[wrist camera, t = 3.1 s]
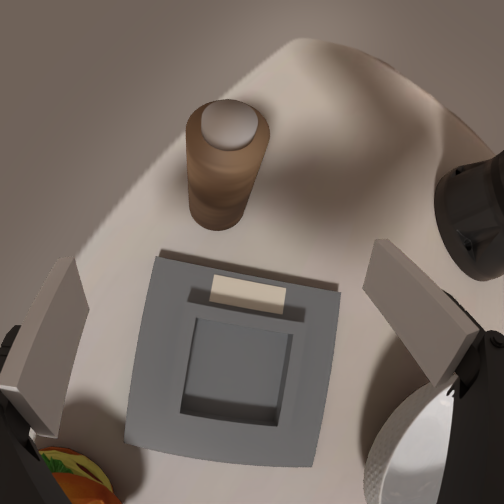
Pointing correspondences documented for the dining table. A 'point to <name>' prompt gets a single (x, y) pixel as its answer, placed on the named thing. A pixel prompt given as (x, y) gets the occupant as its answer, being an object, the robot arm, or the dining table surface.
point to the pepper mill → (223, 160)
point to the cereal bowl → (411, 449)
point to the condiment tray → (231, 367)
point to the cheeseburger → (79, 477)
